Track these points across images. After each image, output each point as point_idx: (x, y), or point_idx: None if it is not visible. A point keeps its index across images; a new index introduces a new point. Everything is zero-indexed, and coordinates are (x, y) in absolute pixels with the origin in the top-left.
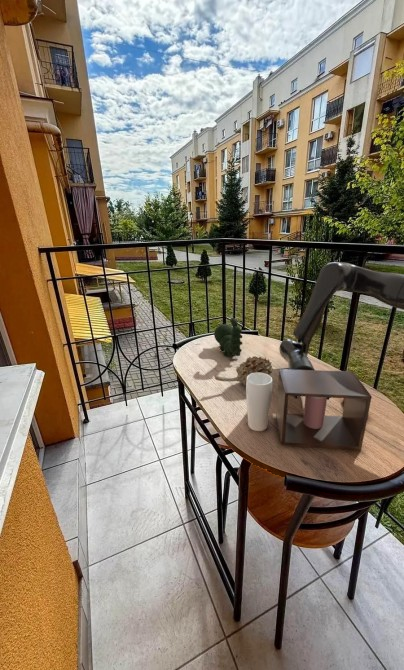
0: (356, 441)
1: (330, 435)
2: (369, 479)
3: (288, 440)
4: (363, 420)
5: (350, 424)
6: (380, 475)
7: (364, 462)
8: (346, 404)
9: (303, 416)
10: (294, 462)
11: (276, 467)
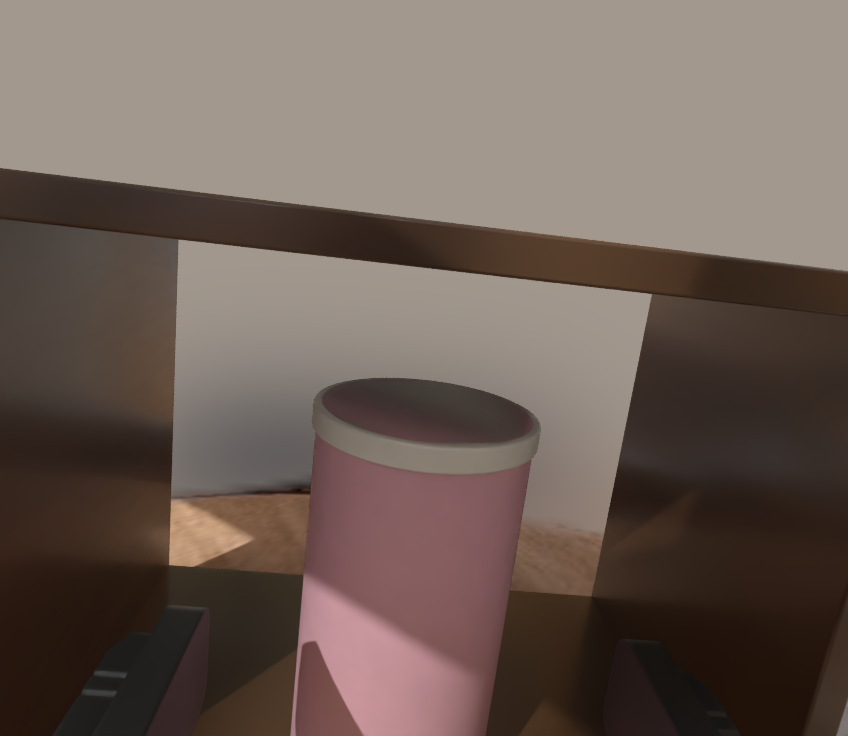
0: (157, 571)
1: (292, 633)
2: (235, 496)
3: (573, 605)
4: (173, 376)
5: (101, 617)
6: (174, 503)
7: (192, 541)
8: (10, 616)
9: (486, 729)
10: (523, 549)
11: (594, 537)
